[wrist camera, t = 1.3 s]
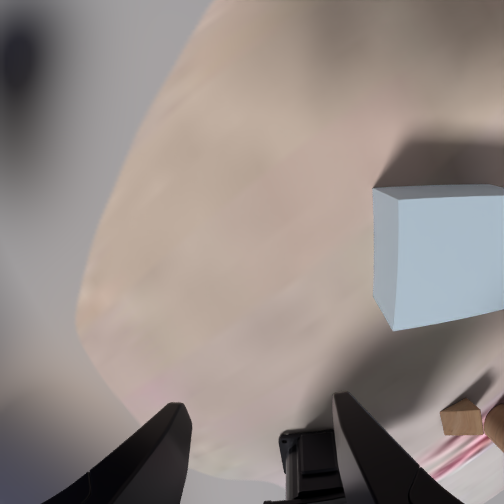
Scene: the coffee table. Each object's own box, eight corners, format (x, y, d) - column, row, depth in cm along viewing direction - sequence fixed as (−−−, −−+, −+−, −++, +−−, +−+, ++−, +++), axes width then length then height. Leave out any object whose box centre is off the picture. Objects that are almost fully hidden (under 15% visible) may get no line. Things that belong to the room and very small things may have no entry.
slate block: (480, 279, 19) (514, 306, 15) (372, 295, 20) (392, 331, 16) (488, 183, 17) (528, 195, 13) (371, 187, 18) (398, 199, 14)
